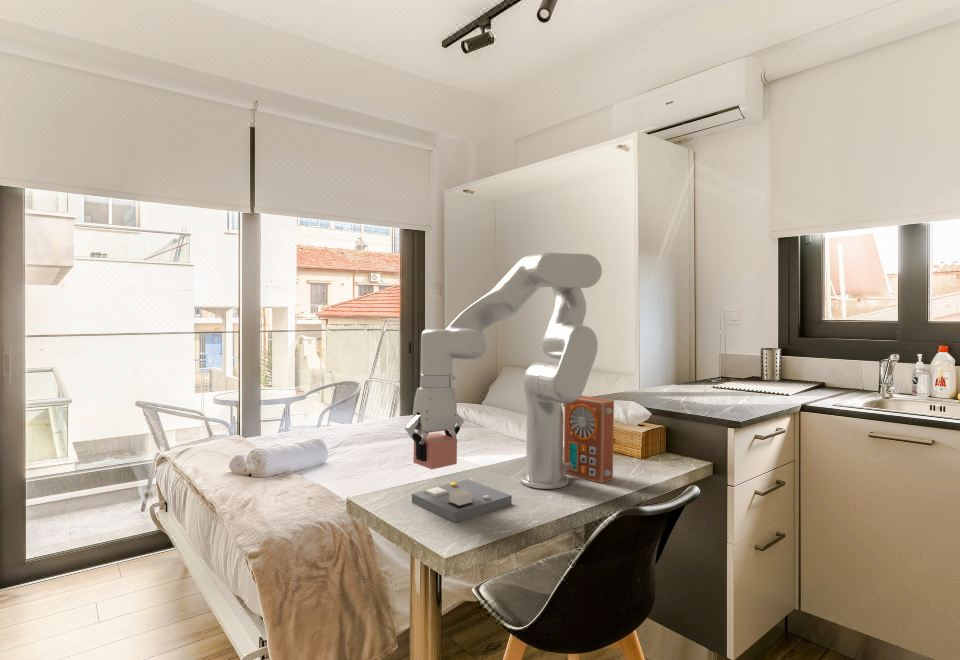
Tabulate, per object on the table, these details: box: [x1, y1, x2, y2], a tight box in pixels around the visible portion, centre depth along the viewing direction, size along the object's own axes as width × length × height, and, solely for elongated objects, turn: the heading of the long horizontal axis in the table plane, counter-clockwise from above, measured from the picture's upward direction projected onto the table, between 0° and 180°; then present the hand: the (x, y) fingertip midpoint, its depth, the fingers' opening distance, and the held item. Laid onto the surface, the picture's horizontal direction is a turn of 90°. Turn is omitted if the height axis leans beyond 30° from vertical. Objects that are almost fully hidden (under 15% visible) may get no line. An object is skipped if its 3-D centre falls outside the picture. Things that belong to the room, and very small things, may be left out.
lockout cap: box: [413, 432, 458, 470], centre depth 128 cm, size 7×7×6 cm
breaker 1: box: [425, 486, 447, 498], centre depth 128 cm, size 4×4×2 cm
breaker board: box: [411, 478, 513, 523], centre depth 127 cm, size 17×16×3 cm
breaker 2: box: [449, 489, 472, 506], centre depth 121 cm, size 4×4×2 cm
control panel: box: [562, 394, 615, 484], centre depth 148 cm, size 21×7×15 cm
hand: (435, 456), depth 128 cm, fingers closed on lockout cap, 7 cm apart
